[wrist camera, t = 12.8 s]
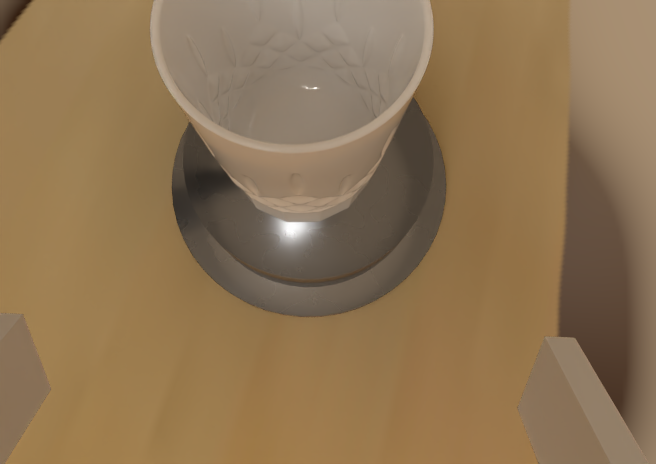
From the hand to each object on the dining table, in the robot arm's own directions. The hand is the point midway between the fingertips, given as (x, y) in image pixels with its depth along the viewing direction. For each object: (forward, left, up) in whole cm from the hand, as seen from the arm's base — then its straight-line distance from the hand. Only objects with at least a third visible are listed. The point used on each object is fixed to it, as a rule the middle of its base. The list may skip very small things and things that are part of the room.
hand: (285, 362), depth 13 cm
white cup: (-6, +7, -9) cm, 13 cm away
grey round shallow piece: (-6, +7, -13) cm, 16 cm away
